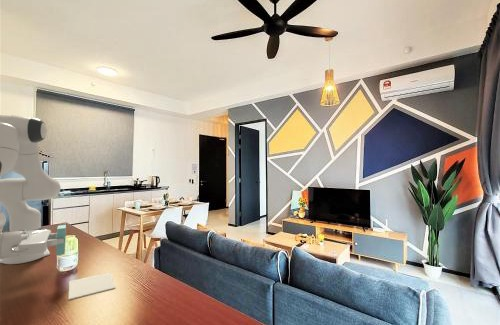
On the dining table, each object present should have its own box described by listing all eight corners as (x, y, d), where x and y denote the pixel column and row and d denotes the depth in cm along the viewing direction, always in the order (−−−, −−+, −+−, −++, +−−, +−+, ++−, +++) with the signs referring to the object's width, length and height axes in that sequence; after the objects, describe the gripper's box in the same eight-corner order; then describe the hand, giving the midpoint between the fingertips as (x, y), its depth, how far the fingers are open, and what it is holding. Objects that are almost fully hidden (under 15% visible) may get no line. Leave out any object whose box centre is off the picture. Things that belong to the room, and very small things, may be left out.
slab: (56, 250, 95) (57, 225, 95) (65, 249, 96) (66, 224, 96) (55, 255, 90) (56, 229, 90) (64, 254, 91) (65, 228, 92)
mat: (69, 282, 93) (69, 281, 93) (110, 273, 101) (110, 272, 101) (68, 300, 81) (68, 298, 81) (115, 288, 89) (115, 287, 89)
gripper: (9, 242, 77) (63, 236, 85) (21, 228, 94) (65, 224, 102) (8, 262, 77) (62, 254, 85) (20, 244, 94) (64, 239, 102)
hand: (64, 237), depth 94 cm, fingers closed on slab, 6 cm apart
